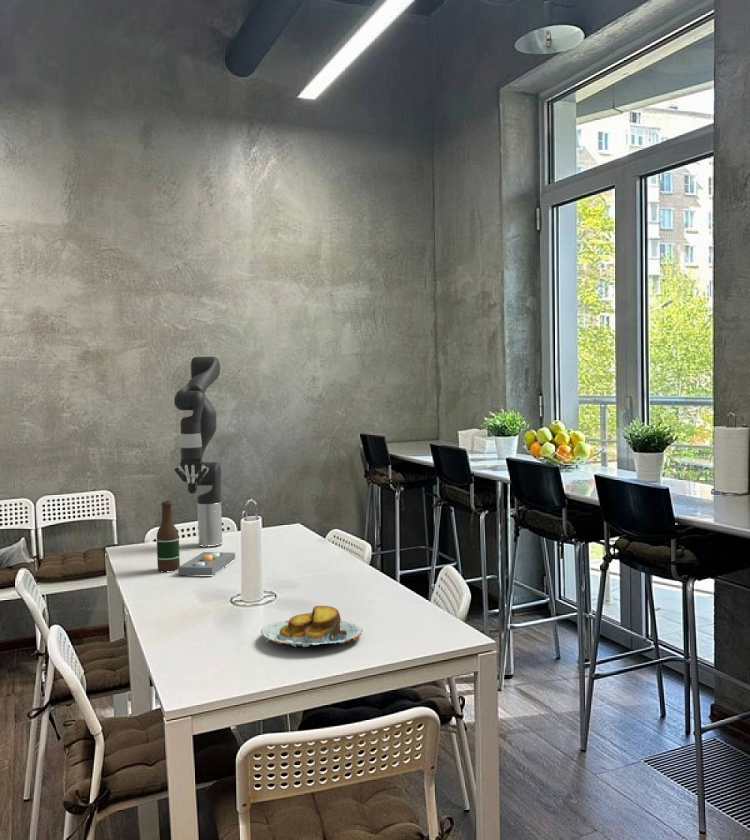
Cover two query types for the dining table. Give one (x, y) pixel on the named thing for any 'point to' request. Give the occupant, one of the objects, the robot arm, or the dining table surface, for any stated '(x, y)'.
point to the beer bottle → (167, 541)
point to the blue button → (199, 564)
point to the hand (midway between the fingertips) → (192, 493)
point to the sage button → (215, 554)
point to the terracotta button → (207, 557)
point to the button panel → (206, 564)
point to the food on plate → (313, 628)
